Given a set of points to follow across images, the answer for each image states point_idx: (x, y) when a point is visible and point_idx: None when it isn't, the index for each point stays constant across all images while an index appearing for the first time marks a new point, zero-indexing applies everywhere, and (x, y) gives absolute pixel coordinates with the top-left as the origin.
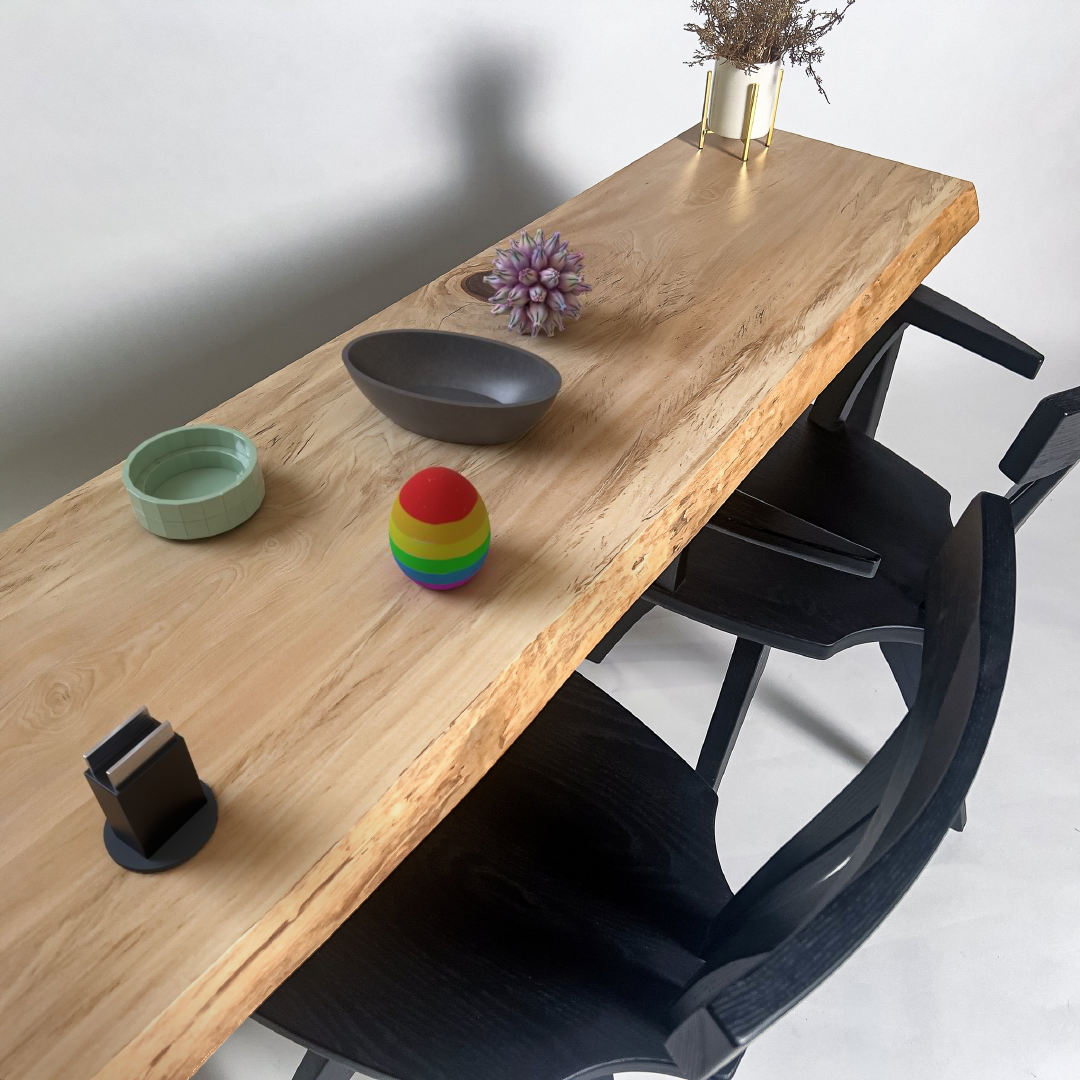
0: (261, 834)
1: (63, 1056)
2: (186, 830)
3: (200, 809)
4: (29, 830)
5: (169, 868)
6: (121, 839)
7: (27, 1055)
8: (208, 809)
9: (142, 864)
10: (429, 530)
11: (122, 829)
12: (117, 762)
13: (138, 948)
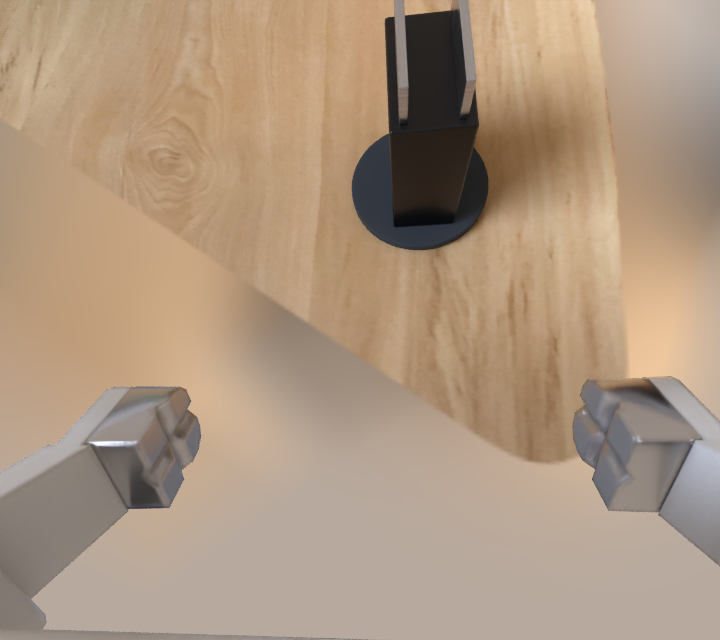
0: (526, 132)
1: None
2: None
3: None
4: (292, 285)
5: (478, 217)
6: (408, 224)
7: (548, 458)
8: None
9: (454, 230)
10: None
11: (427, 202)
12: (465, 59)
13: (535, 300)
